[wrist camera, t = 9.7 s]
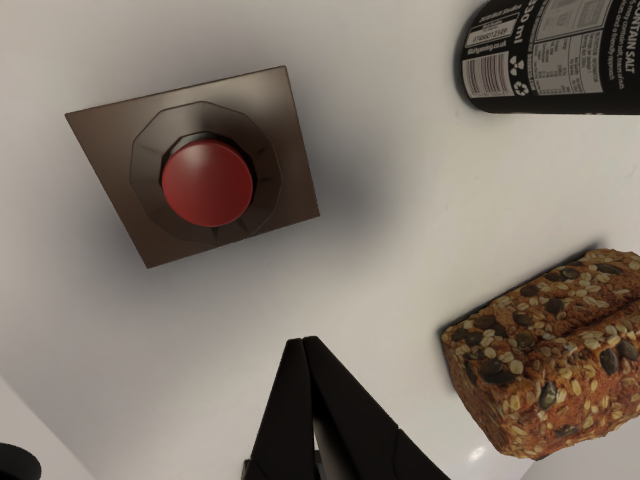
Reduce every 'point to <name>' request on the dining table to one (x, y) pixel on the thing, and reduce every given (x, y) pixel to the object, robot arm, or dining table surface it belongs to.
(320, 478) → the bracket
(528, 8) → the beverage can
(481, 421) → the bread
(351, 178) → the dining table surface
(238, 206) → the button
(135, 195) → the button box
